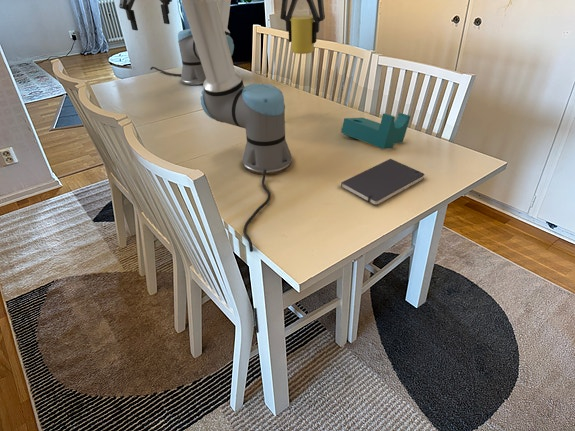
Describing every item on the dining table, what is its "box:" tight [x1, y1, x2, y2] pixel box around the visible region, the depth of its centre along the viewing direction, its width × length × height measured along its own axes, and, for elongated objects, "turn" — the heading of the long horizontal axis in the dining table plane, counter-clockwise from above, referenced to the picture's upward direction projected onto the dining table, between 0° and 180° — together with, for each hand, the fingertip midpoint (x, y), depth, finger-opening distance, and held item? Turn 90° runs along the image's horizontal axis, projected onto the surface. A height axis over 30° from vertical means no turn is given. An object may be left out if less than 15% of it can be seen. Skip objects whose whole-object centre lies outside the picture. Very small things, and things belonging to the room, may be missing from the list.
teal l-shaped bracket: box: [340, 112, 412, 150], centre depth 135 cm, size 18×11×10 cm, turn 43°
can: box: [290, 14, 315, 55], centre depth 142 cm, size 8×8×11 cm
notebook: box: [340, 158, 425, 206], centre depth 114 cm, size 13×2×21 cm
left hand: (151, 26), depth 150 cm, fingers open, 13 cm apart
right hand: (302, 41), depth 143 cm, fingers closed on can, 8 cm apart
